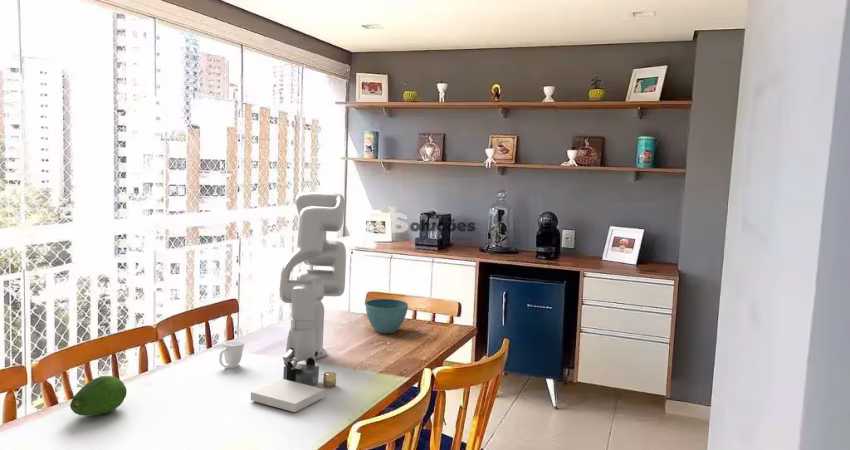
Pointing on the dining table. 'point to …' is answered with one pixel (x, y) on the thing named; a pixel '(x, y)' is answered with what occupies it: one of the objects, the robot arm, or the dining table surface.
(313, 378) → the block
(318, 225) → the robot arm
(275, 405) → the stand
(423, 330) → the dining table surface
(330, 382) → the cylinder
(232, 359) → the cup
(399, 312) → the teal bowl
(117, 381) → the fruit
